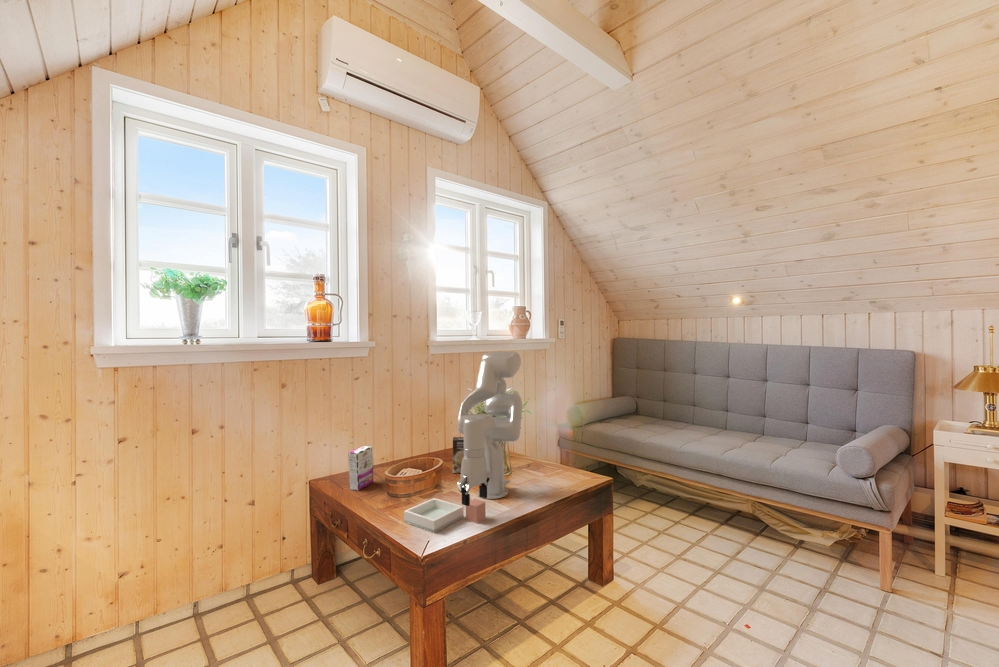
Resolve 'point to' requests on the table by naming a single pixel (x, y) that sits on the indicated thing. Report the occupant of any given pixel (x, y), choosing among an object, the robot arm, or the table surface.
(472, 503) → the pink block
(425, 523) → the tray
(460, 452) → the coffee box
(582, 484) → the table surface
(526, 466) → the table surface
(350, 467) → the candy bar box
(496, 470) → the robot arm
